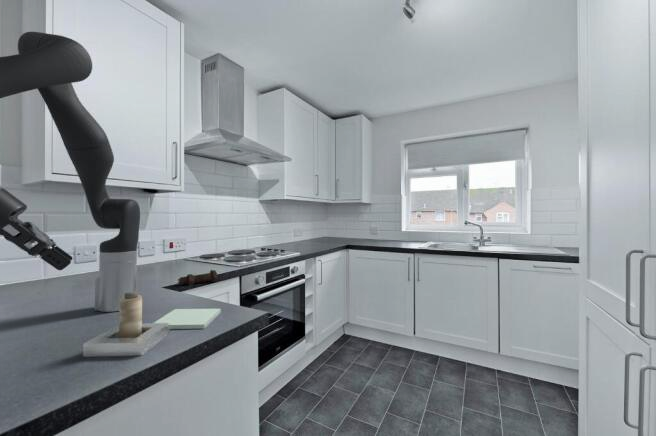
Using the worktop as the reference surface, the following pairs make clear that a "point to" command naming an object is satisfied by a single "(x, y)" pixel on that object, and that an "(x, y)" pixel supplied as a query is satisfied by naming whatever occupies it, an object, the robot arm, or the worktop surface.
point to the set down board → (189, 318)
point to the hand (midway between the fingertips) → (67, 264)
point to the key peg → (130, 315)
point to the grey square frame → (126, 341)
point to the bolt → (198, 278)
